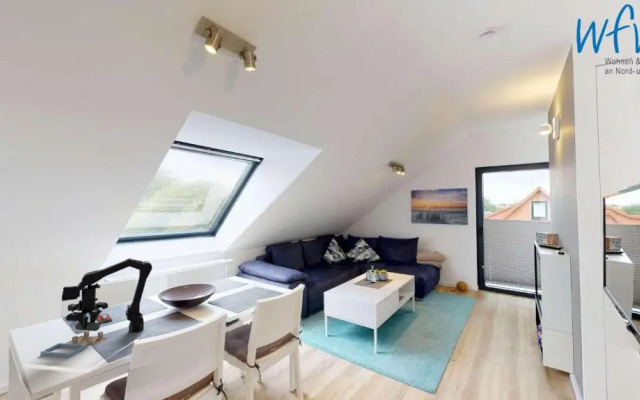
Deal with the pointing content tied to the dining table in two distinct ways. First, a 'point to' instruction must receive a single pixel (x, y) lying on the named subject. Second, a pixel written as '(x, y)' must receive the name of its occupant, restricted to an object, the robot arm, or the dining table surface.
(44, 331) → the dining table surface
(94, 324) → the tan-capped grey cylinder
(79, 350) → the tray
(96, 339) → the block
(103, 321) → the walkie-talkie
